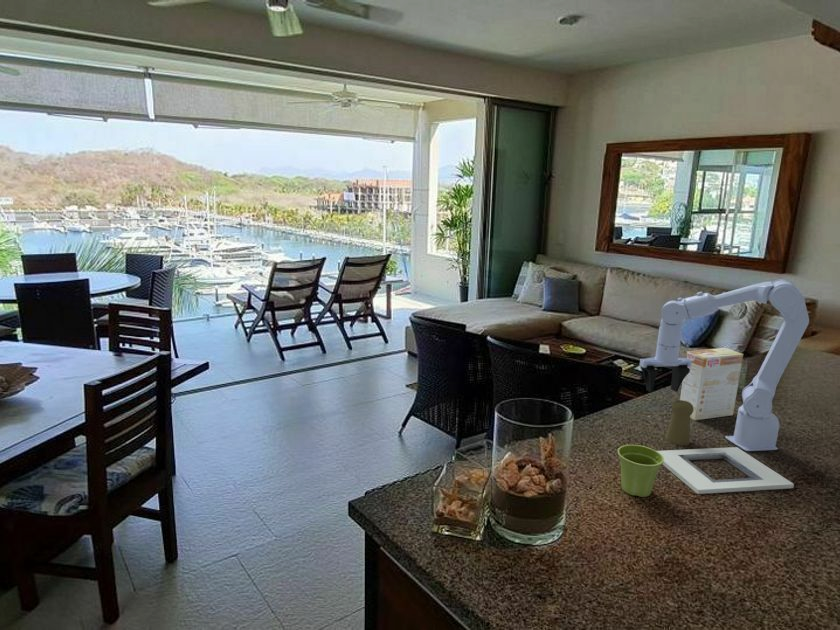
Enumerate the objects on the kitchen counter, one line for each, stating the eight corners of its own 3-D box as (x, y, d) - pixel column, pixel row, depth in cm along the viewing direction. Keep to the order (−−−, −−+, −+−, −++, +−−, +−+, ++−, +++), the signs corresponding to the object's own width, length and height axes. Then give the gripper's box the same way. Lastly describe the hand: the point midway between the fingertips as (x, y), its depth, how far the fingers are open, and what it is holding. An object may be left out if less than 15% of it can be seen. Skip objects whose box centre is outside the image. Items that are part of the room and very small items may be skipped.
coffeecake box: (714, 406, 168) (724, 347, 164) (734, 415, 162) (745, 354, 157) (676, 411, 164) (685, 350, 159) (695, 421, 157) (705, 357, 153)
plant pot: (638, 506, 113) (643, 468, 111) (604, 484, 121) (608, 449, 119) (668, 496, 117) (673, 459, 115) (633, 475, 125) (638, 441, 123)
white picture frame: (736, 450, 139) (736, 447, 139) (793, 488, 122) (793, 484, 122) (651, 454, 136) (651, 451, 135) (697, 494, 118) (698, 489, 118)
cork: (692, 446, 141) (699, 407, 138) (668, 443, 142) (674, 405, 140) (686, 436, 147) (692, 399, 144) (662, 434, 148) (668, 396, 145)
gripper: (683, 340, 153) (676, 385, 156) (636, 340, 151) (630, 386, 154) (699, 347, 146) (692, 394, 149) (650, 347, 144) (644, 395, 147)
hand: (661, 390), depth 151 cm, fingers open, 7 cm apart
